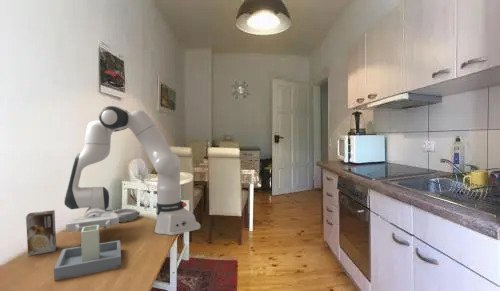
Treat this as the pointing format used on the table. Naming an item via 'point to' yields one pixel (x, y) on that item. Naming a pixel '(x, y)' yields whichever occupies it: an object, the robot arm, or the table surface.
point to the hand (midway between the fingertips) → (92, 227)
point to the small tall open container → (90, 243)
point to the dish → (127, 214)
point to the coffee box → (41, 232)
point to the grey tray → (74, 266)
